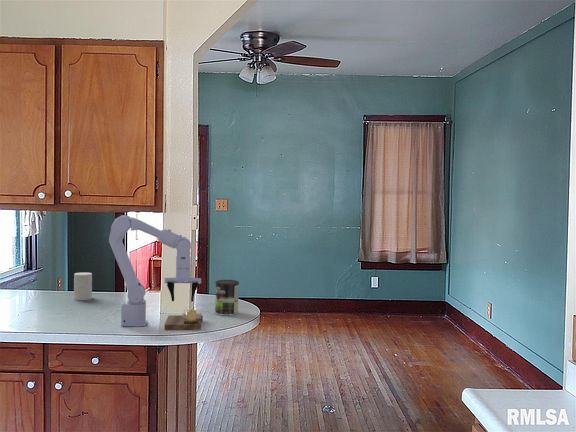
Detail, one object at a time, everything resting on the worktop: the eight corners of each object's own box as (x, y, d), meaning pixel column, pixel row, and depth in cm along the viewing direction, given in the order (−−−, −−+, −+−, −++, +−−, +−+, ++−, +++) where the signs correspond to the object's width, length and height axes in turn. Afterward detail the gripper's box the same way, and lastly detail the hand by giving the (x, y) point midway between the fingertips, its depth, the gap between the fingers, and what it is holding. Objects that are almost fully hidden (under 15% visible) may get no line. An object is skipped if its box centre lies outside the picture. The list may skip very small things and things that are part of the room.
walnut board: (164, 329, 239) (164, 324, 239) (168, 320, 255) (168, 315, 255) (200, 329, 240) (200, 324, 240) (202, 320, 256) (202, 315, 256)
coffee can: (224, 317, 263) (225, 284, 262) (210, 312, 270) (210, 281, 269) (243, 313, 270) (243, 281, 269) (228, 309, 277) (229, 278, 277)
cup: (70, 299, 293) (70, 274, 292) (81, 296, 301) (80, 271, 300) (85, 300, 290) (85, 275, 290) (95, 297, 298) (95, 273, 297)
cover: (183, 318, 249) (183, 313, 249) (184, 314, 256) (184, 309, 256) (200, 318, 250) (200, 313, 250) (201, 314, 257) (201, 309, 256)
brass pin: (185, 328, 242) (185, 312, 241) (186, 326, 246) (186, 310, 245) (195, 328, 242) (196, 312, 242) (196, 326, 246) (196, 310, 246)
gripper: (163, 268, 244) (163, 302, 244) (200, 269, 245) (200, 303, 246) (165, 266, 251) (165, 299, 252) (201, 266, 252) (201, 299, 253)
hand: (182, 300), depth 249 cm, fingers open, 7 cm apart
